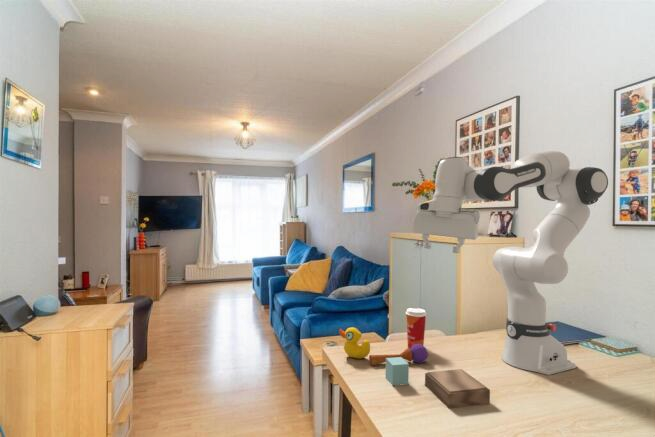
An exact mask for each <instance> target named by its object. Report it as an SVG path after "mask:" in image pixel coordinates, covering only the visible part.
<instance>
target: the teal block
mask: <svg viewBox="0 0 655 437" xmlns="http://www.w3.org/2000/svg"><path fill="white" fill-rule="evenodd" d="M409 365H410V364H409V363H408V362H407V360H405V359H403V358H402V357H394V358H386V362H385V379H386V380H387V381H388V382H390V383H391V384H392V385H397V386H401V385H400V384H407V385H409V373H410V372H409V369H410V368H409ZM390 383H389V384H390ZM391 384H390V385H391ZM392 385H391V386H392Z"/></svg>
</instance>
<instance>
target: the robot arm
mask: <svg viewBox="0 0 655 437" xmlns="http://www.w3.org/2000/svg"><path fill="white" fill-rule="evenodd" d="M570 162H571V161H570V160H569V158H568V156H567V154H565V153H563V152H561V151H555V150H554V151H542V152H536V153H531V154H529V155H525V156H523V157H520V158H518V159H517V160H516V161H514V163H513V164H512V168H506V167H502V166H491V167H488V168H485V169H479V170H476V169H474V168H473V167H471V165H469V164H468V163H467V161H466V158H465V157H462V156H451V157H449V156H448V157H446V158H443V159H441V160H440V161H439V163H438V166H437V169H436V174H435V179H434V180H435V181H434V186H435V187H434V188H435V190H434V192H433V196H432V199H431V200H428V201H425V202H420V203H418V204H417V210H418V211H417V212H416V213H415V215H414V219H413V223H412V231H413V232H414V233H415V234H421V235H422V236H421V238H422V241H423V243H424V246H423V248H424V249H428V250H430V249H431V248H432V243H431V242H429V238H430V236H438V237H439V236H440V237H446V238H455V239H457V242H458V243H457V244H456V246H452V253H454V254H460V252H461V251H460V250H461V248H462V246H463V245H464V244H465V242H466V240H470V241H471V240H472V241H475V240H476V239H478V236H479V222H480V217H481V216H480V215H481V214H480V212H479V211H478V210H476V209H475V208H462V206H463V201H465V202H483V201H488V202H489V201H491V202H492V201H493V202H499V201H501V200H504V199H505V198H507V197H508V196H509V195H510V194H511V193H512V192H514V191H515V190H518V189H520V188H534V187H535V188H536V191H537V194H538V196H539V197H540V198H541V199H543V200H545V201H550V202H554V201H555V202H556V201H557V203H556V204H555V207H554V208H553V209H552V210H551V211H550V212H549V213H547V215H546V216H545V217H544V218H543V219H542V220H541V221H540V223H539V224H538V225H537V226H536V227H535V228H534V229H533V232H532V236H533V237H532V238H533V240H534V244H533V245H531V246H530V247H523V246H522V247H521V246H506V247H500V248H499V249H497V250H496V251H495V253H494V254H493V257H492V265H493V267H494V269H495V270H496V271H497V272H498V274H499V275H500V277H501V279H502V281H503V284H504V287H505V291H506V294H507V317H506V325H505V328H506V336H505V344H504V349H503V351H502V352H503V353H502V354H501V359H502V360H503V361H504V362H505V363H506V364H508V365H510V366H513V367H514V368H518V369H521V370H526V371H530V372H535V373H540V374H543V375H547V376H550V375H554V374H558V373H561V372H565V371H569V370H572V369H576V368H577V365H576V362H574V361H572V360H571V359H569V358H568V351H567V348H566V346H565V345H564V344H562V343H561V342H560V341H559V340H558V339H556V338H555V337H554V336H552V335H551V332H550V331H552V332H556V330H557V326H556V325H555V324H552V323H549V324H548V323H546V321H547V320H546V315H547V314H546V312H547V310H546V309H547V307H546V306H547V301H546V299H545V298H544V296H543V295H542V293H540V292H539V290H538V289H537V288H536V285H535V283H536V284H541V285H545V284H546V285H553V284H560V283H562V282H563V281H564V280H565V279H566V277H567V275H568V271H569V265H568V262H567V259H566V258H565V252H566V251H567V248H568V247H569V245H570V244H571V243H573V241H574V239H576V237H577V236H578V235H579V234H580V233H581V231H582V230H583V229H584V227H585V226H586V224H587V221H588V220H589V218H590V215H591V209H590V208H589V206H590V205H593V204H595V203H597V202H598V201H599V198H601V197H602V196H603V195H604V194H605V193H606V190H607V188H608V186H609V179H608V175H607V174H606V172H605V171H604V170H603V169H601V168H600V167H599V168H598V167H594V166H593V167H592V166H585V167H576V168H570Z"/></svg>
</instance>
